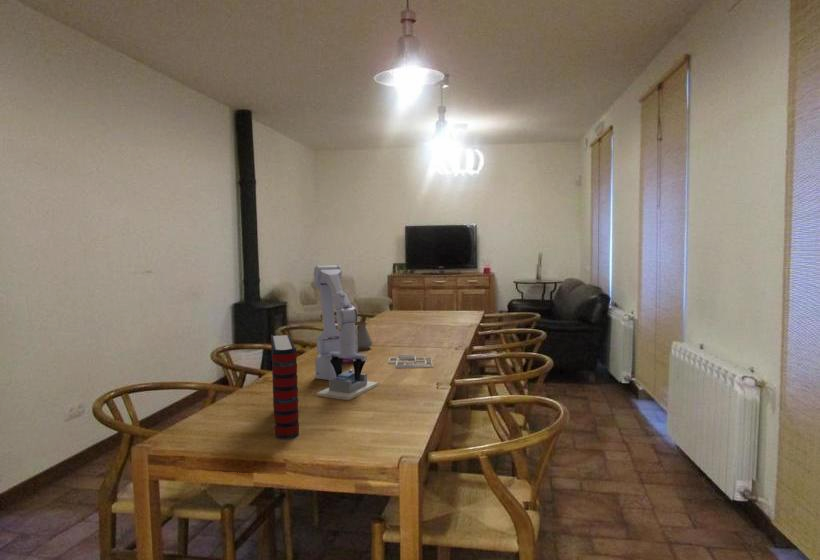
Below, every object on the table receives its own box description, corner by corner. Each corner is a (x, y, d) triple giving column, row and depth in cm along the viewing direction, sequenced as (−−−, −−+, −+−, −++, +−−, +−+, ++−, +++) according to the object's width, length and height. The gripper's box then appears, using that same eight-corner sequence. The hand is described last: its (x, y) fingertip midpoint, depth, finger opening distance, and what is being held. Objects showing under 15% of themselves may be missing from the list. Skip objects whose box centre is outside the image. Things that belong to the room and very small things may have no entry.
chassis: (317, 395, 185) (316, 381, 184) (348, 381, 203) (347, 368, 202) (348, 400, 179) (348, 385, 179) (378, 385, 197) (377, 371, 196)
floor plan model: (376, 359, 241) (376, 354, 241) (431, 358, 241) (431, 354, 240) (373, 369, 222) (373, 364, 222) (432, 368, 222) (432, 364, 222)
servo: (335, 390, 187) (335, 373, 186) (351, 382, 196) (350, 367, 195) (345, 391, 185) (344, 375, 185) (360, 384, 194) (359, 368, 194)
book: (300, 438, 146) (297, 349, 144) (274, 441, 144) (271, 350, 142) (293, 409, 170) (291, 333, 168) (271, 412, 168) (268, 334, 166)
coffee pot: (350, 346, 268) (350, 316, 267) (373, 346, 268) (373, 316, 267) (343, 355, 247) (343, 323, 246) (368, 355, 247) (367, 323, 245)
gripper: (323, 341, 189) (325, 379, 190) (358, 345, 183) (359, 383, 184) (335, 338, 195) (336, 374, 196) (369, 341, 189) (370, 378, 190)
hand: (348, 378), depth 190 cm, fingers open, 7 cm apart
